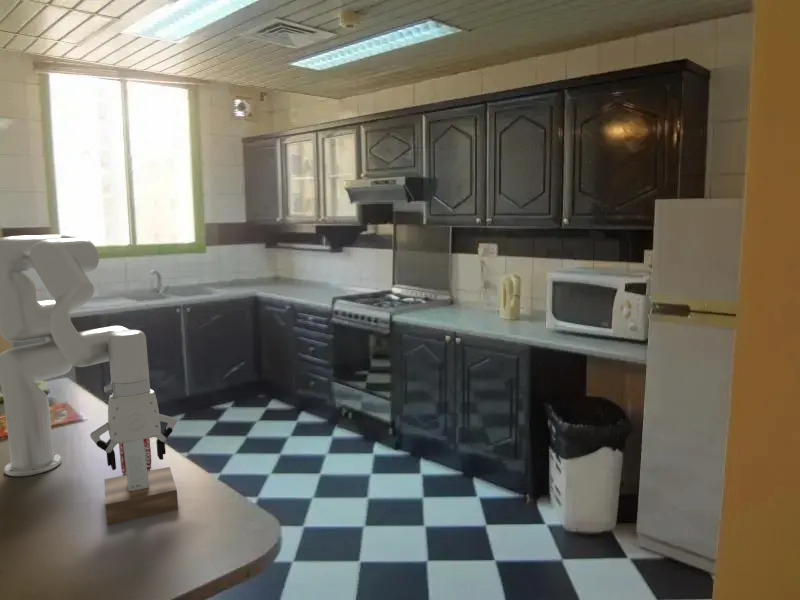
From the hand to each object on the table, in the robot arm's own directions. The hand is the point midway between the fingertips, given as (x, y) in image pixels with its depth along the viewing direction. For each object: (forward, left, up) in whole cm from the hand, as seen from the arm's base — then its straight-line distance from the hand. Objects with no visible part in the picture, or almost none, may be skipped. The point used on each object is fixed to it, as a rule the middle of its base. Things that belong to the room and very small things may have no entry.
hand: (137, 462), depth 134 cm
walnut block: (0, 0, -10) cm, 10 cm away
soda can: (-19, +2, -10) cm, 21 cm away
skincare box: (0, 0, -5) cm, 5 cm away
